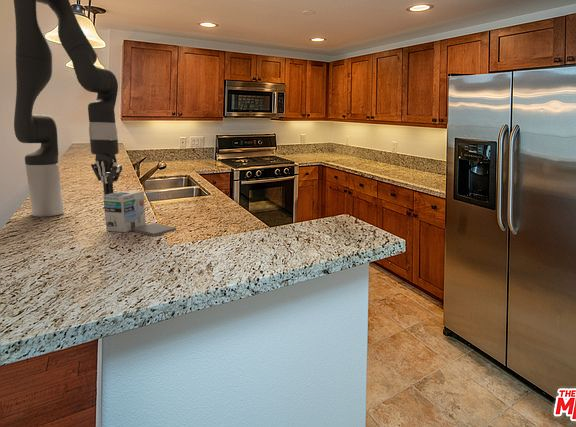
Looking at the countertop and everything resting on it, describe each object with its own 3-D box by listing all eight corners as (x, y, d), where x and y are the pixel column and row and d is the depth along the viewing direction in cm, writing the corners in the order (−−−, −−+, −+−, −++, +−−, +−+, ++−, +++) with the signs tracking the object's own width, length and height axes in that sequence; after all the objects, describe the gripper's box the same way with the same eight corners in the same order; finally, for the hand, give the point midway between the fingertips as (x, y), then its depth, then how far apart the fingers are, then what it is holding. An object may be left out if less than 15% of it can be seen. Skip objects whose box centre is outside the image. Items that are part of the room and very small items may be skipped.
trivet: (131, 230, 108) (131, 228, 108) (154, 225, 115) (154, 222, 114) (153, 236, 103) (153, 233, 103) (176, 230, 109) (176, 227, 109)
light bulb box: (125, 233, 106) (122, 196, 103) (105, 231, 107) (101, 195, 105) (146, 224, 116) (144, 190, 114) (127, 222, 117) (125, 189, 115)
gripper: (79, 137, 110) (85, 194, 114) (105, 138, 103) (110, 199, 107) (102, 137, 116) (107, 191, 120) (128, 138, 110) (133, 195, 113)
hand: (109, 195), depth 114 cm, fingers closed
